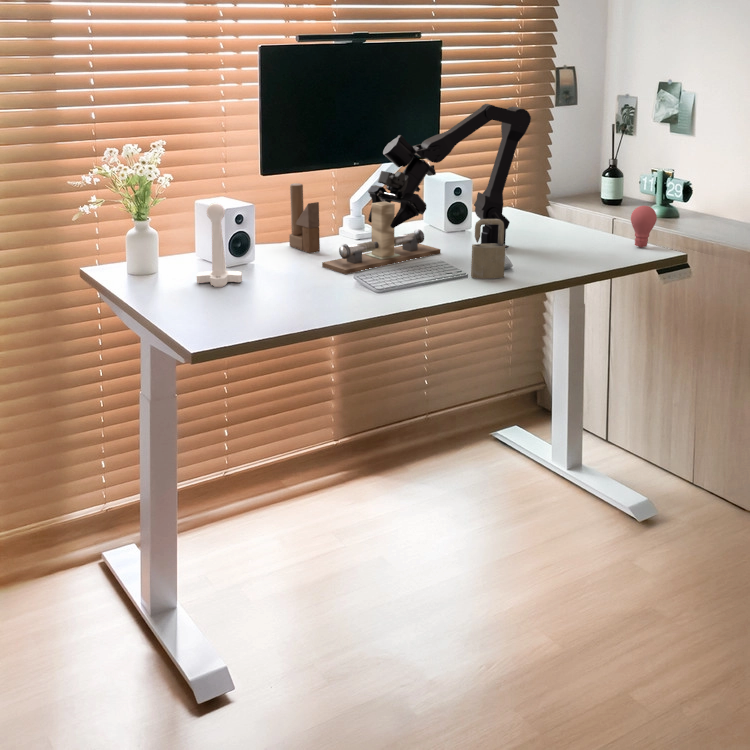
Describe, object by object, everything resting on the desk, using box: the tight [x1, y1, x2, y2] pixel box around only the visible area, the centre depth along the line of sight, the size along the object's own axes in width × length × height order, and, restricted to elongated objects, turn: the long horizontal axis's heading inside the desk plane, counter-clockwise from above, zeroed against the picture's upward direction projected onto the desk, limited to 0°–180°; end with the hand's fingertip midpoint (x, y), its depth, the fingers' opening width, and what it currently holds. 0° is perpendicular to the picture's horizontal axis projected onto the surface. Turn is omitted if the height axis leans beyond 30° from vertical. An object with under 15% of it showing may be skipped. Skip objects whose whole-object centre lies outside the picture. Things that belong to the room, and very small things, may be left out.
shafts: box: [338, 229, 425, 264], centre depth 266 cm, size 28×4×5 cm, turn 130°
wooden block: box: [288, 182, 321, 254], centre depth 276 cm, size 4×11×18 cm, turn 36°
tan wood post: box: [371, 201, 396, 257], centre depth 264 cm, size 5×4×14 cm
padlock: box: [470, 219, 506, 280], centre depth 249 cm, size 4×8×15 cm, turn 94°
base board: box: [321, 243, 441, 275], centre depth 267 cm, size 34×10×2 cm, turn 130°
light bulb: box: [630, 205, 658, 249], centre depth 278 cm, size 7×7×12 cm
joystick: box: [196, 202, 243, 288], centre depth 242 cm, size 11×8×20 cm
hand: (380, 224), depth 263 cm, fingers open, 9 cm apart
